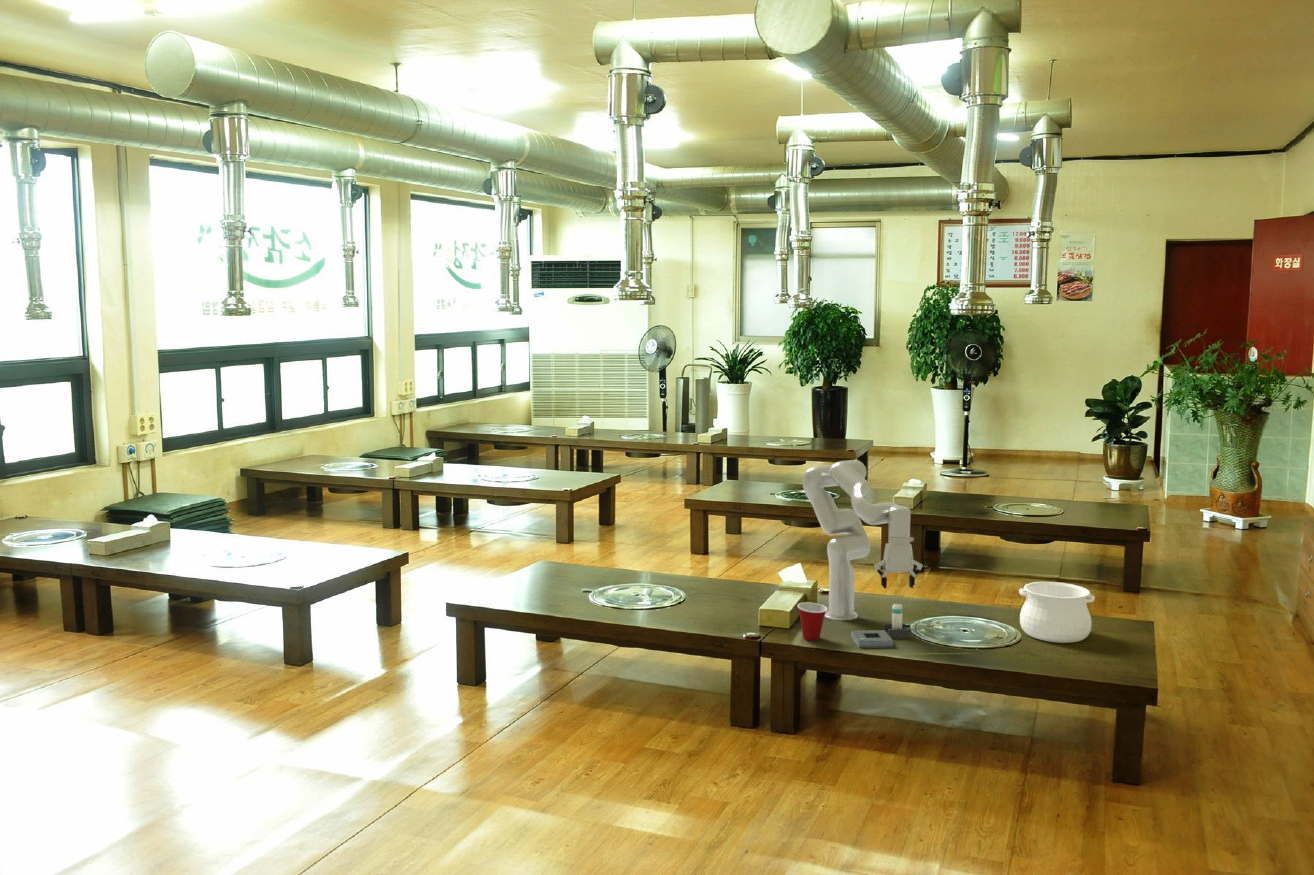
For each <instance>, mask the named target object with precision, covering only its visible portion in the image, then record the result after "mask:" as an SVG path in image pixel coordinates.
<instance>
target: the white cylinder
mask: <svg viewBox="0 0 1314 875" xmlns="http://www.w3.org/2000/svg"><path fill="white" fill-rule="evenodd" d="M891 624H892V629H902V624H903V604H901V603H894V604H892V606H891Z"/></svg>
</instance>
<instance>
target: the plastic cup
mask: <svg viewBox="0 0 1314 875" xmlns="http://www.w3.org/2000/svg"><path fill="white" fill-rule="evenodd" d="M797 609H798V613H799V618H800V628H801V630H802V637H803V639H804V640H806V641H811V642H812V641H818V640H820V638H821V632H822V628H823V624H824V618H825V613H826V611H828V610H829V607H827V606H826V605H824V604H821V603H819V602H817V603H816V602H810V601H809V602H808V601H805V602H800V603H798V604H797Z"/></svg>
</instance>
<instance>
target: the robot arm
mask: <svg viewBox="0 0 1314 875" xmlns="http://www.w3.org/2000/svg"><path fill="white" fill-rule="evenodd" d="M866 477H867V468H866V465H864V463H863V462H862V461H860V460H858V459H851V460H841V461H836V462H834V463H833V464H828V465H827V464H825V465H818V466H813V467H810V468H808V469H807V470H805V472H803V476H802V488H803V491H804V494H805V496H806V498H807V499H808V501H809V503H810V504H811V505H812V508H813V511H814V514H815V516H816V517H817V518H816V519H817V521H818V523H819V525H820V527H821V529H822V531H823V532H824V534H825V535H827V536H835V537H833V538H831V539H830V540H829V541H828V543H827V546H826V552H827V559H828V567H829V568H828V569H829V571H828V572H829V573H828V574H829V577H828V578H829V581H828V610H827V611H826V613H825V615H824V618H826V619H828V620H833V621H835V620H836V621H851V620H857V619H858V615H859V614H858V613H857V612H855V568H854V567H853V565H852V563H851V561H853V560H859V559H862V558H866V557H868V555H869V554H870V552H871V543H870V539H869V537H868V534H867V533H866V530H865V527H864V525H863V523H862V521H863V522H864V523H866V524H867V525H870V526H877V525H883V524H888V532H887V533H888V534H887V535H888V538H887V541H888V542H887V543H885V546H884V552H883V558H882V560H880V561H879V562H876V563H875V564H873V566H874V568H875V570H876V572H877V573H878V574H879V575H880V578H881V580H880V584H881V586H882V587H883V589H887V588H888V587H887V583H888V578H887V576H888V574H889V573H909V574H910V575H909V576H908V586H909V587H910V588H911V589H913V588H914V586H915V581H916V577H917V575H918V574H920V573H921V570H922V568H923V566H924V565H923V564H922V563H920V562H918V561H917V560H914V554H913V553H914V552H913V547H912V544H911V542H914V541H915V539H914V537H912V536H911V509H910V508H909V507H908V506H905V505H904V506H903V505H899V504H898V503H894V502H890V501H889V502H888V501H887V502H878V503H871V502H869V501H868V500H867V499H866V498H865V496H866V495H867V494H868V493H869V491H870V486H871V485H870V482H869V481H868V480H867V479H866ZM830 487H840V488H841V489H842V490H843V491H844V492H845V493H847V495H849V497H850V502H851V503H850V504H851V507H852V509H850V508H842V509H841V508H838V507H837V505H836V503H835V500H834V498H833V497H832V496H831V494H830V493H829V492H828V491H827V490H825V488H830ZM843 534H845V535H843ZM838 535H839V536H838ZM881 566H882V569H883V570H881V569H880V567H881ZM914 566H917V567H916V569H915V570H914Z"/></svg>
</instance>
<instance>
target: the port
mask: <svg viewBox="0 0 1314 875" xmlns="http://www.w3.org/2000/svg"><path fill="white" fill-rule="evenodd" d="M850 635H851V639H852V640H853V642H854V644H856V646H857V648H859V649H861V648H862V649H864V648H866V649H867V648H871V649H873V648H875V649H876V648H877V649H878V648H894V640H893V638H891V637H890V636H889V635H888V634H887V632H886V631H885V630H883V629H879V630H877V629H873V630H871V629H869V630H865V629H863V630H862V629H860V630H859V629H858V630H851V633H850Z"/></svg>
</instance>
